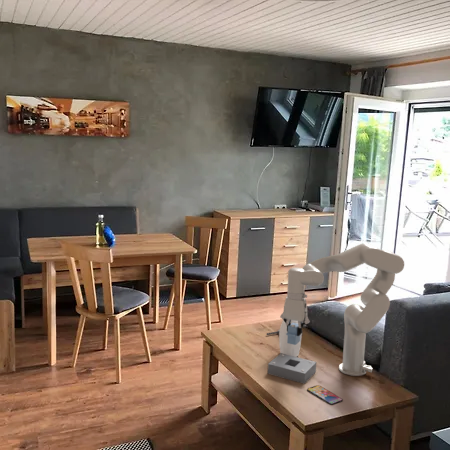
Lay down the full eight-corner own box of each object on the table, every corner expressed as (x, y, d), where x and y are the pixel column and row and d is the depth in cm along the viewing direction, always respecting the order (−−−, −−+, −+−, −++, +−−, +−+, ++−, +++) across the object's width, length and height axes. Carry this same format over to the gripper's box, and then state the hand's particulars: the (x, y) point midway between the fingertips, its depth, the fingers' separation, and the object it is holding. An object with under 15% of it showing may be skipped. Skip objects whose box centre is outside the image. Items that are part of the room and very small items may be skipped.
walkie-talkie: (295, 330, 292) (265, 335, 283) (296, 323, 291) (265, 328, 282) (304, 335, 284) (274, 341, 275) (305, 328, 283) (274, 333, 274)
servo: (301, 339, 238) (302, 322, 237) (294, 346, 231) (294, 328, 229) (293, 337, 240) (294, 320, 239) (285, 344, 233) (286, 326, 231)
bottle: (293, 361, 251) (296, 311, 246) (274, 355, 257) (276, 306, 253) (304, 354, 259) (307, 305, 255) (285, 348, 266) (287, 300, 262)
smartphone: (331, 404, 210) (306, 388, 222) (331, 406, 210) (305, 390, 223) (343, 399, 214) (318, 384, 227) (343, 401, 214) (318, 386, 227)
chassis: (315, 371, 240) (316, 361, 239) (304, 383, 228) (305, 373, 227) (280, 362, 249) (280, 352, 248) (267, 373, 237) (268, 363, 236)
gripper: (316, 296, 231) (314, 335, 234) (281, 290, 239) (280, 327, 242) (310, 300, 225) (308, 340, 228) (275, 294, 233) (273, 333, 236)
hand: (294, 333), depth 235 cm, fingers closed on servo, 4 cm apart
